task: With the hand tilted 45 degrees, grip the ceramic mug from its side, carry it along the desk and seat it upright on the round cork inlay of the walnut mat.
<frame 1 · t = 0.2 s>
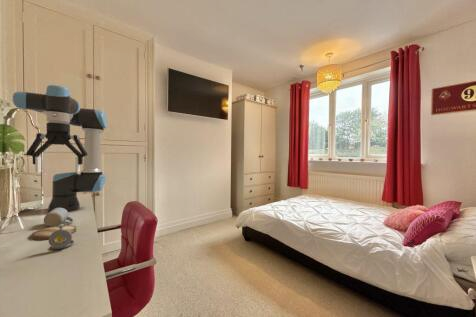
hand: (58, 172, 87), 28 cm above the table, tool pointing down, fingers open, 13 cm apart
ceramic mug: (59, 224, 100), on the table
pocket watch: (61, 247, 76), on the table
walnut mat: (54, 233, 89), on the table
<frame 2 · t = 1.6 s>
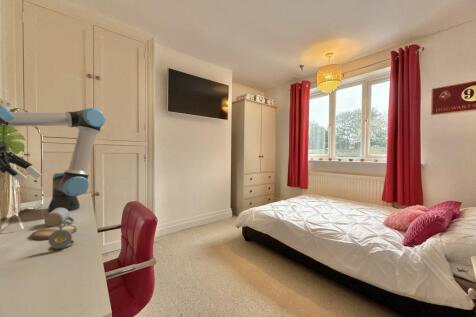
hand: (32, 178, 96), 23 cm above the table, tool tilted 45°, fingers open, 13 cm apart
nothing on the table moved.
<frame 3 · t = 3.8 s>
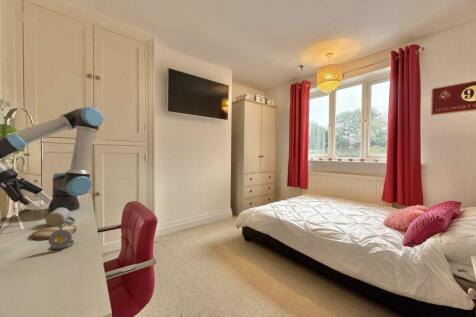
hand: (43, 204, 97), 10 cm above the table, tool tilted 45°, fingers open, 13 cm apart
nothing on the table moved.
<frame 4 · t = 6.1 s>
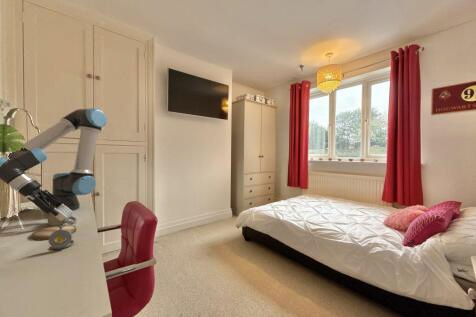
hand: (67, 216, 101), 4 cm above the table, tool tilted 45°, fingers closed on ceramic mug, 8 cm apart
ceramic mug: (63, 224, 101), on the table, touching gripper
everything else where it was.
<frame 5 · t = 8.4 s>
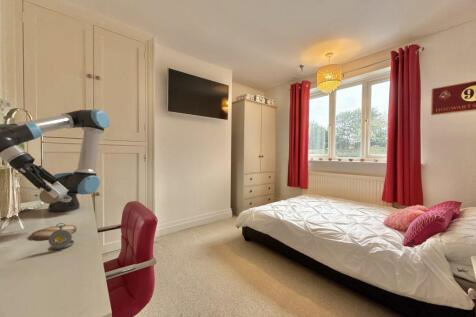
hand: (61, 194, 93), 17 cm above the table, tool tilted 45°, fingers closed on ceramic mug, 8 cm apart
ceramic mug: (56, 202, 93), point 13 cm above the table, touching gripper
everything else where it was.
when the fingers open (6 cm above the table, at t = 10.9 s): ceramic mug drops 1 cm, resting on walnut mat.
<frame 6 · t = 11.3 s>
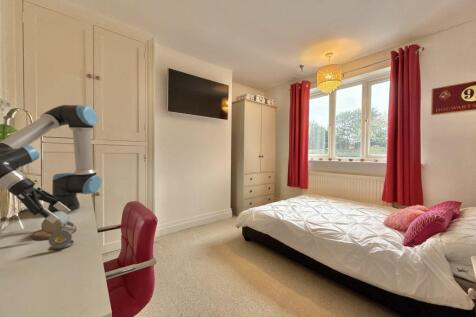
hand: (62, 216, 90), 7 cm above the table, tool tilted 45°, fingers open, 12 cm apart
ceramic mug: (59, 230, 90), point 1 cm above the table, touching walnut mat
everything else where it was.
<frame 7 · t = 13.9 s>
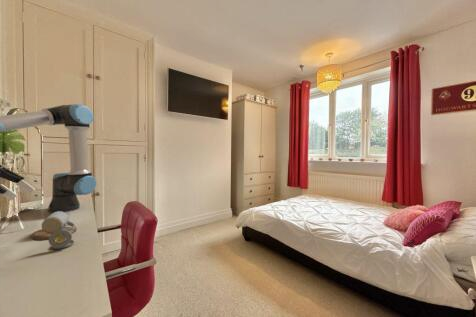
hand: (24, 194, 85), 18 cm above the table, tool tilted 45°, fingers open, 13 cm apart
nothing on the table moved.
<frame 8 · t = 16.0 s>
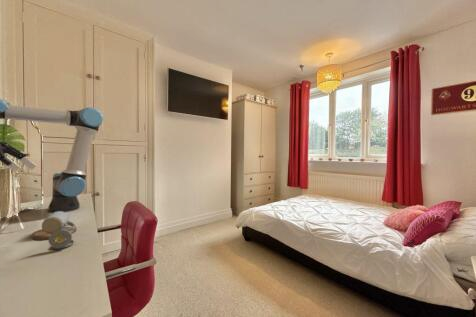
hand: (26, 168, 96), 28 cm above the table, tool tilted 45°, fingers open, 13 cm apart
nothing on the table moved.
at the end: ceramic mug inside the target area on the walnut mat (1.5 cm from its centre), point 1.0 cm above the walnut mat's base; ceramic mug tilted 1°; the gripper is holding nothing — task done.
